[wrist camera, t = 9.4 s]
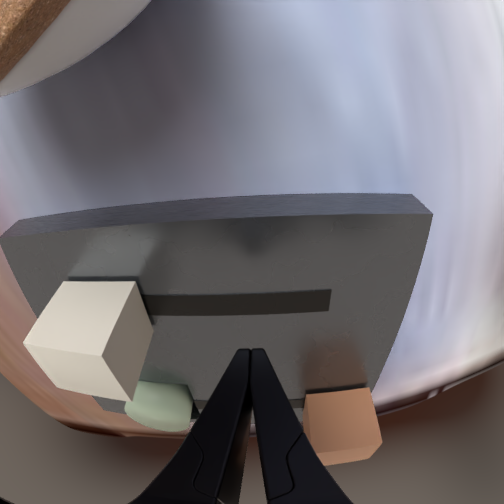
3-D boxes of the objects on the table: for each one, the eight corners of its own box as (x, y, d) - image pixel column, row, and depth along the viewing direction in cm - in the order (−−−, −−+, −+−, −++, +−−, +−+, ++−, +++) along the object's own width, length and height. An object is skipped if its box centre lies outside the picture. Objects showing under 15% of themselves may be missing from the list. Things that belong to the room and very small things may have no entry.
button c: (187, 365, 18) (180, 405, 15) (200, 399, 20) (195, 433, 18) (126, 361, 18) (114, 397, 15) (146, 395, 20) (138, 427, 18)
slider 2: (369, 387, 16) (382, 442, 13) (358, 408, 18) (368, 458, 14) (306, 394, 16) (312, 453, 13) (302, 415, 18) (306, 467, 14)
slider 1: (135, 281, 12) (101, 355, 8) (154, 331, 13) (132, 402, 10) (63, 281, 12) (22, 342, 9) (86, 326, 14) (57, 387, 10)
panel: (412, 194, 12) (433, 214, 10) (355, 393, 20) (360, 415, 19) (18, 220, 13) (-3, 239, 11) (110, 391, 21) (103, 410, 19)
